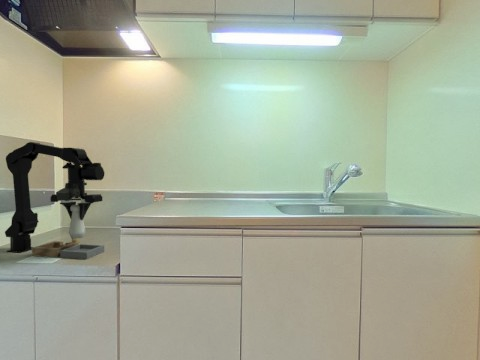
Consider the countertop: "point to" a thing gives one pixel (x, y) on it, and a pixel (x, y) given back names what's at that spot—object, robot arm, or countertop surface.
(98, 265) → the countertop surface
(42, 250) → the socket block
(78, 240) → the key
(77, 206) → the salt shaker
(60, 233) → the countertop surface
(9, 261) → the countertop surface
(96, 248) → the tray
